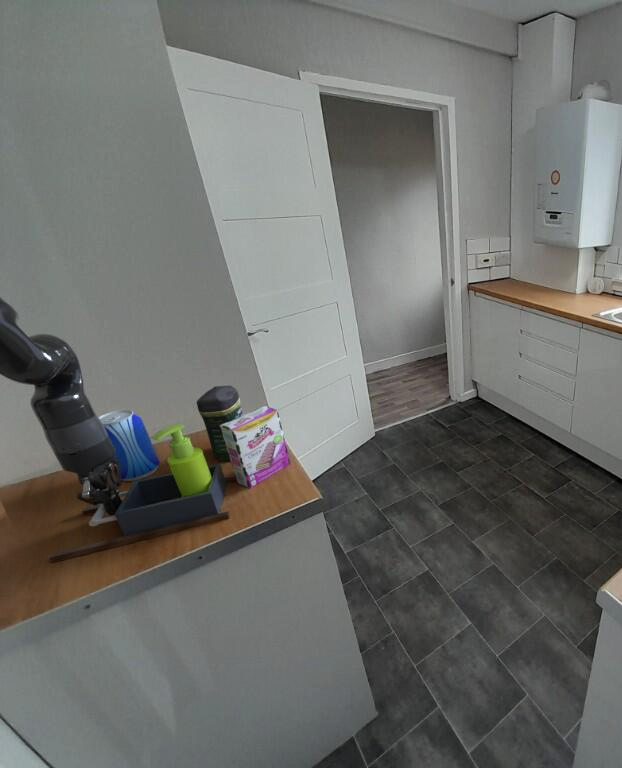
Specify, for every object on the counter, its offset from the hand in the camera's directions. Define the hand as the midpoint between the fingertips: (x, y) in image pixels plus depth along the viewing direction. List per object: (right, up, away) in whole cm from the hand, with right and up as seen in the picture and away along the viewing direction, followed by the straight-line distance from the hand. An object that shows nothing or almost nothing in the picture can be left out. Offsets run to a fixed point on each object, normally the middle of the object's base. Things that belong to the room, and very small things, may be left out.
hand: (117, 512), depth 84 cm
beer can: (-11, +4, +17) cm, 20 cm away
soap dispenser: (+12, -1, +7) cm, 14 cm away
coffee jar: (+7, +8, +26) cm, 28 cm away
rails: (+5, -2, +3) cm, 6 cm away
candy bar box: (+20, +4, +17) cm, 27 cm away
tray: (+7, -1, +4) cm, 8 cm away
